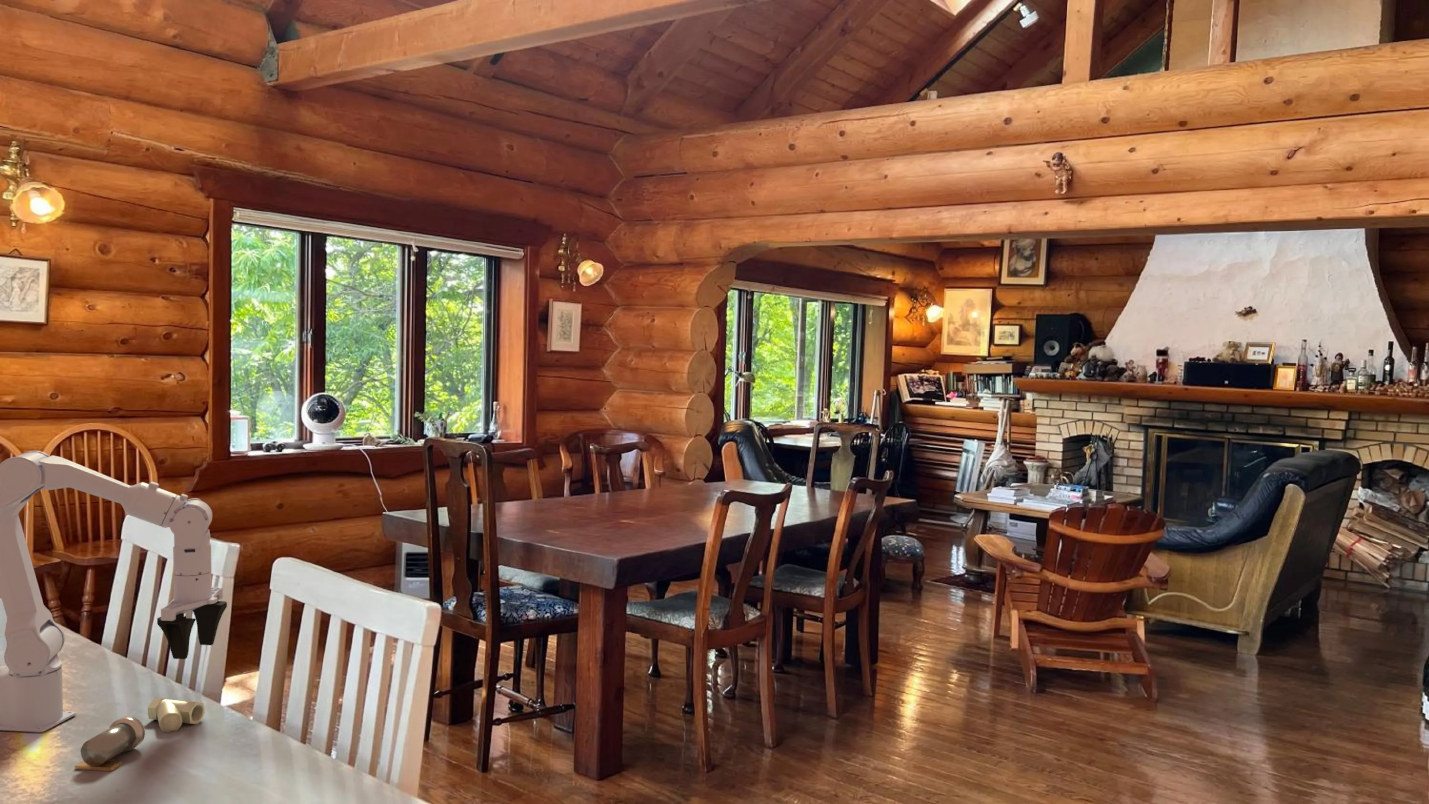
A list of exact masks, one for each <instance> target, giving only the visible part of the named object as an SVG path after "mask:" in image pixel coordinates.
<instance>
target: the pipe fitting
mask: <svg viewBox="0 0 1429 804" xmlns="http://www.w3.org/2000/svg"><path fill="white" fill-rule="evenodd" d="M205 710H206V709H205V705H204V703H203V702H199V701H191V700H190V701H184V700H177V699H176V700H174V699H168V698H163V697H154V698H153V699H152V701H151V702H150V703H149V705H148V707H147V716H148V719H149V720H155V721H158V725H159V728H160V730H161V731H162V732H164V733H169V732H174V731H175V732H176V731H178V730H179V729H180V728H181V726H182V725H183V723H184V724H191V725H197V724H200V722H201V721H202V720H203V718H204V716H205Z"/></svg>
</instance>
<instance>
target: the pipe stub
mask: <svg viewBox="0 0 1429 804" xmlns="http://www.w3.org/2000/svg"><path fill="white" fill-rule="evenodd" d="M145 730H146V729H145V727H144V724H143V723H142V721H141V720H139V719H138V718H136V717H134V716H131V715H127V716H126V715H125V716H122V717H120V718H118V719H117V720H115V721H113V722H112V723H111V724H110V726H109V728H107V729H106V730H104V731H102V732H101V733H98V734H97V735H95V736H92V738H90V739H87V741H85V742H83V744H82V746H81V747H80V755H81V758H82V760H83V761H81V762H79V763H77V764H76V765H74V770H82V771H85V770H86V771H101V772H102V771H104V772H113V771H114V770H116V769H117V768H118V767H121V766H123V761H122V760H111V759H113V758H114V757H116V756H118V755H119V754H121V753H122V752H129V751H132V750H133V749H135V748H137V747H138V746H140V745H141V744H142V743H143V742H144V739H145V736H146V735H145V734H146V731H145Z"/></svg>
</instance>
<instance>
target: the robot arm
mask: <svg viewBox="0 0 1429 804" xmlns="http://www.w3.org/2000/svg"><path fill="white" fill-rule="evenodd" d="M159 486H160V484H159V483H158V482H154V481H151V482H149V483H147V482H144V481H142V482H139V483H136V484H133V485H129V484H128V483H125V482H123V481H120V480H117V479H115V478H113V477H111V476H109V475H105V474H104V473H101V472H98V471H96V470H93V469H91V468H88V467H86V466H83V465H81V464H78V462H77V463H76V462H74V461H72V460H69V459H67V458H64V457H61V456H57V455H49V454H47V453H46V452H43V451H40V450H29V451H25V452H23V453H21V454H19V455H17V456H12V457H9V458H6V459H5V460H3V461H2V462H0V598H1V602H2V605H3V609H4V611H5V615H6V623H5V630H4V637H5V641H6V647H5V651H4V654H3V655H4V656H3V659H4V663H5V665H6V667H7V668H4V669H2V670H1V671H0V731H7V732H8V731H9V732H28V733H44V732H46V731H48V730H49V729H52V728H54V727H55V726H57V725H60V723H63V722H65V721H66V720H69V719H71V718H73V717H74V716H76V715H77V712H76V711H70V710H69V711H68V710H67V711H66V710H65V711H64V697H63V696H64V693H63V692H64V691H63V688H64V687H63V662H62V660H61V659H60V657H59V656H58V654H59V653H60V652H61V650H62V649H63V648H64V645H65V641H66V639H65V638H66V637H65V633H64V631H63V629H62V628H61V627H60V626H59V625H58V624H57V623H56V622H55V620H54V618H53V614H52V612H51V611H50V609H48V608H47V607H46V605H44V602H43V598H42V594H41V591H40V587H39V583H38V580H37V577H36V573H35V569H34V566H33V565H34V564H33V562H32V557H31V555H30V551H29V547H28V544H27V540H26V537H25V534H24V533H25V532H24V529H23V525H22V523H21V520H20V516H19V514H20V512H21V510H22V509H24V507H25V506H26V505H27V503H28V502H29V501H30V500H31V498H32V496H34V495H35V494H37V493H38V492H39V491H42V490H43V491H46V492H47V491H51V490H58V489H60V490H61V489H65V488H67V489H68V488H71V489H73V490H77V491H80V492H83V493H86V494H89V495H92V496H96V497H97V498H98V497H99V498H102V499H105V500H108V501H111V502H114V503H118V504H120V505H121V507H122V508H123V510H124V512H125V514H126V515H128V516H131V517H134V518H136V519H139V520H142V521H144V522H147V523H150V524H152V525H156V526H158V527H161V528H164V529H167V528H169V529H170V531H171V532H172V534H173V539H174V540H173V547H172V548H173V549H172V551H173V552H172V557H173V558H172V559H173V560H172V561H173V563H172V565H173V566H172V567H173V568H172V569H173V599H171V601H170V602H168V604H167V605H166V606H164V607H162V608H160V616H159V617H157V618H156V622H157V626H158V627H159V628H160V629H161V632H163V634H164V636H165V638H166V640H167V643H168V645H169V649H170V652H171V655H172V658H173V660H174V659H175V660H185V659H188V656H189V650H190V639H191V634H192V629H193V626H194V624H195V622H196V627H197V636H198V637H197V638H198V642H199V645H200V646H212V645H214V643H215V639H216V636H217V631H218V628H219V623H220V622H221V619H222V616H223V614H224V612H225V611H226V609H227V608H228V602H227V601H224V600H222V599H223V597H224V596H223V590H224V589H223V587H214V586H212V544H211V533H210V529H209V526H210V525H211V523H212V521H213V510H212V508H211V507H210V506H209V505H208V504H207V503H206V502H205V501H203V500H201V499H200V498H197V497H195V498H189V496H188V495H187V494H185V493H181V495H179V494H176V493H173V492H171V491H168V490H165V489H163V488H160V487H159ZM188 498H189V499H188ZM191 611H192V612H193V615H194V618H192V617H187V616H185V615H186V613H189V612H191Z"/></svg>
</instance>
